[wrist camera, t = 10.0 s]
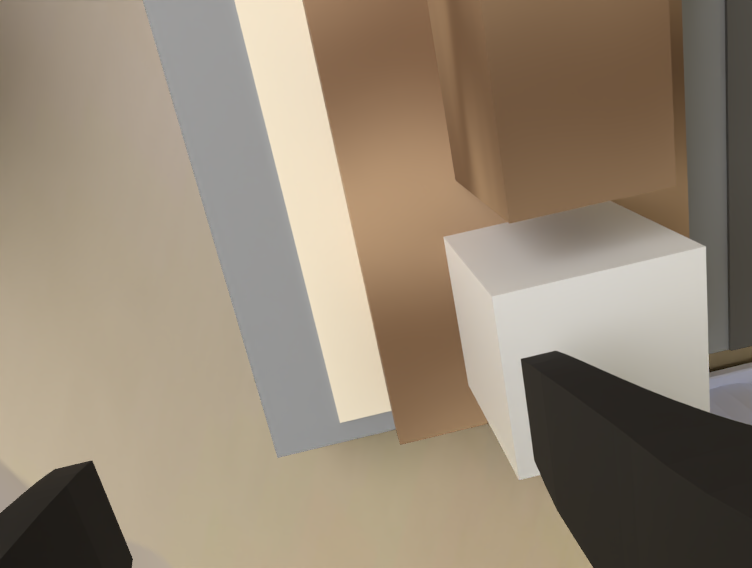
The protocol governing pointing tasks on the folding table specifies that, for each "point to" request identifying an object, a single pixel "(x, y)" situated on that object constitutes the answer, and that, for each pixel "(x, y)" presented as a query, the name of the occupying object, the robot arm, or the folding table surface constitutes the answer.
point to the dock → (330, 214)
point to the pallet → (423, 198)
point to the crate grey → (578, 309)
